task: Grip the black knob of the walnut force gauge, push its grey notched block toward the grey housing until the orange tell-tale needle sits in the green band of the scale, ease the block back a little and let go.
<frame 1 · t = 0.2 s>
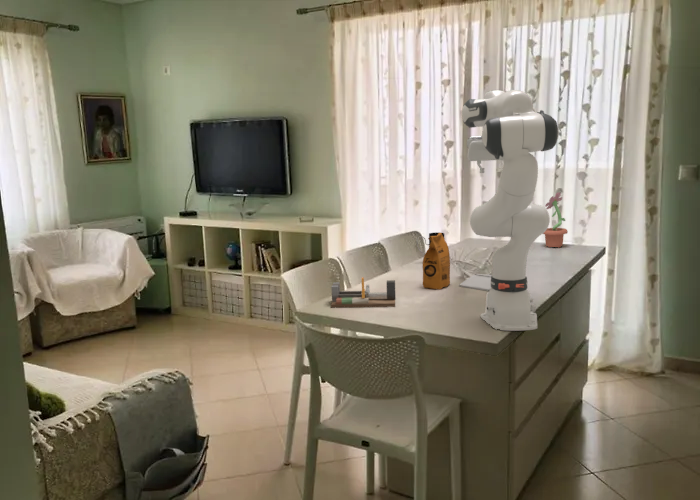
hand: (494, 172, 230), 48 cm above the table, tool pointing down, fingers open, 8 cm apart
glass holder: (431, 264, 301), on the table
gauge base: (364, 302, 235), on the table
coffee package: (436, 286, 256), on the table
decorative flower: (554, 247, 333), on the table
gadget: (488, 285, 257), on the table
needle: (363, 287, 228), point 7 cm above the table, slide at 0.0 cm
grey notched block: (377, 291, 232), point 5 cm above the table, slide at 0.0 cm
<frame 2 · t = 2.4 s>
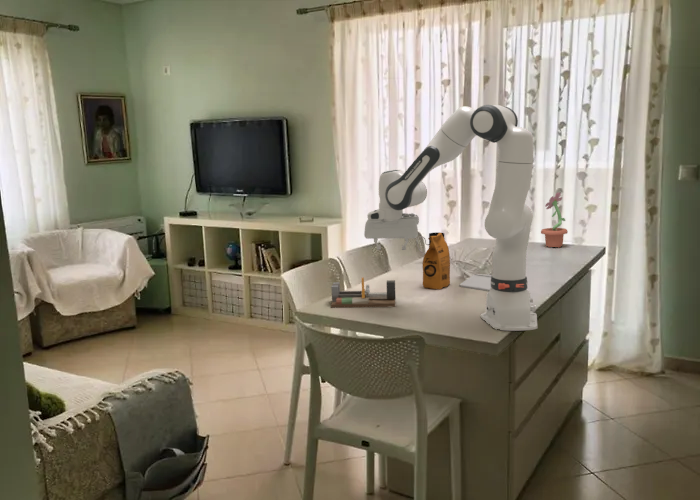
hand: (391, 249, 230), 20 cm above the table, tool pointing down, fingers open, 8 cm apart
nothing on the table moved.
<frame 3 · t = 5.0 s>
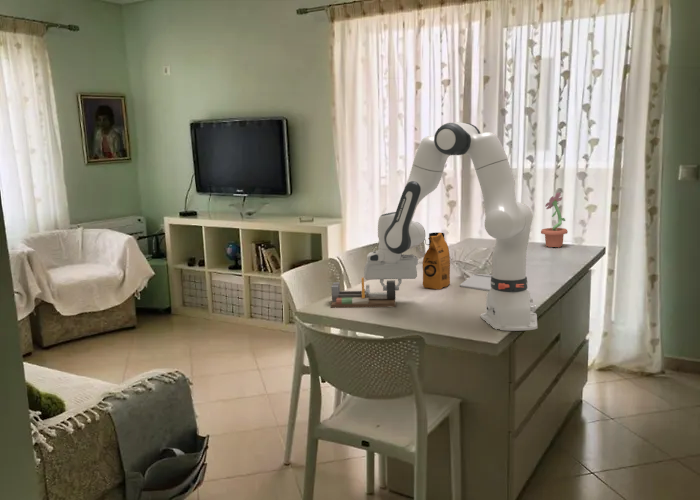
hand: (391, 290, 233), 5 cm above the table, tool pointing down, fingers closed on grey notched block, 3 cm apart
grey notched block: (378, 291, 232), point 5 cm above the table, slide at 0.0 cm, touching gripper
everything else where it was.
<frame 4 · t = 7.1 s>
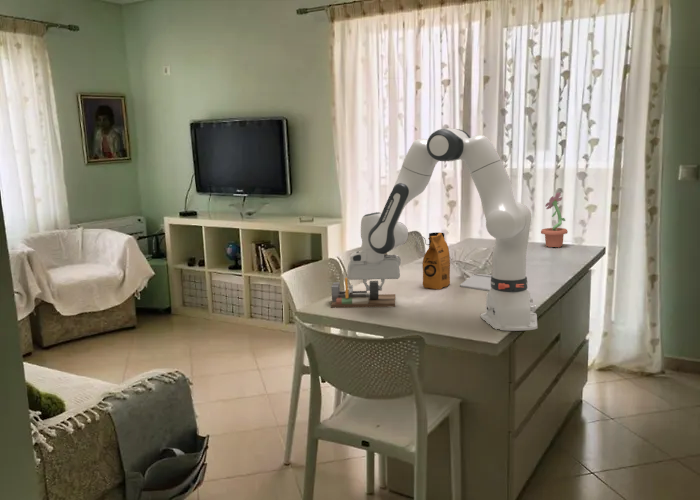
hand: (374, 290, 233), 5 cm above the table, tool pointing down, fingers closed on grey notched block, 3 cm apart
needle: (346, 287, 229), point 7 cm above the table, slide at 6.2 cm, touching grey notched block
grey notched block: (361, 291, 232), point 5 cm above the table, slide at 6.5 cm, touching gripper, needle
everything else where it was.
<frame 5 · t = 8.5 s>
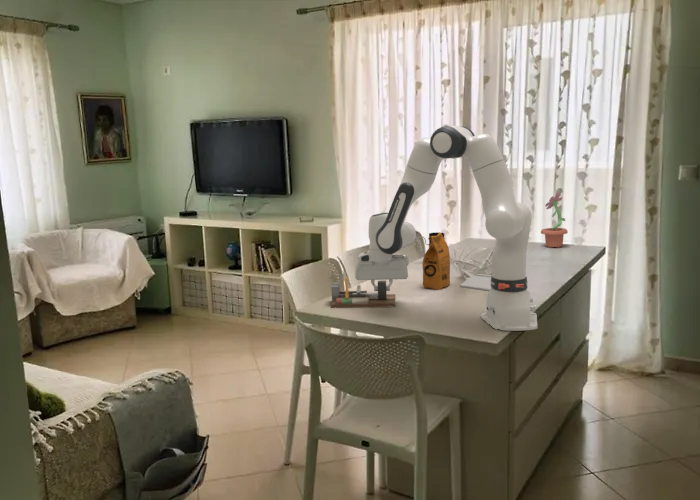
hand: (382, 290, 233), 4 cm above the table, tool pointing down, fingers closed on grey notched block, 3 cm apart
needle: (346, 287, 229), point 7 cm above the table, slide at 6.2 cm
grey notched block: (369, 291, 232), point 5 cm above the table, slide at 3.4 cm, touching gripper
everything else where it was.
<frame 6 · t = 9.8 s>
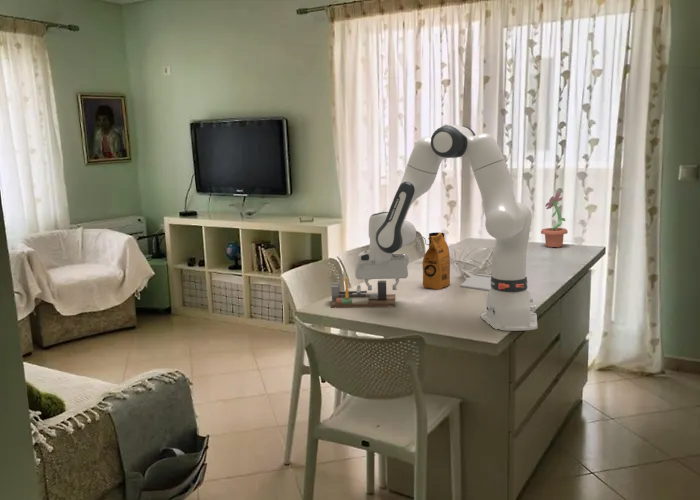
hand: (382, 289, 233), 5 cm above the table, tool pointing down, fingers open, 8 cm apart
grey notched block: (369, 291, 232), point 5 cm above the table, slide at 3.4 cm
everything else where it was.
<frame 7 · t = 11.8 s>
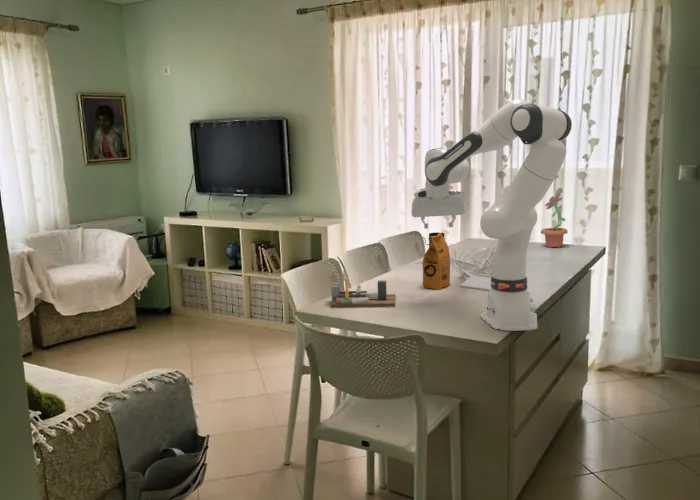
hand: (438, 227, 233), 27 cm above the table, tool pointing down, fingers open, 8 cm apart
nothing on the table moved.
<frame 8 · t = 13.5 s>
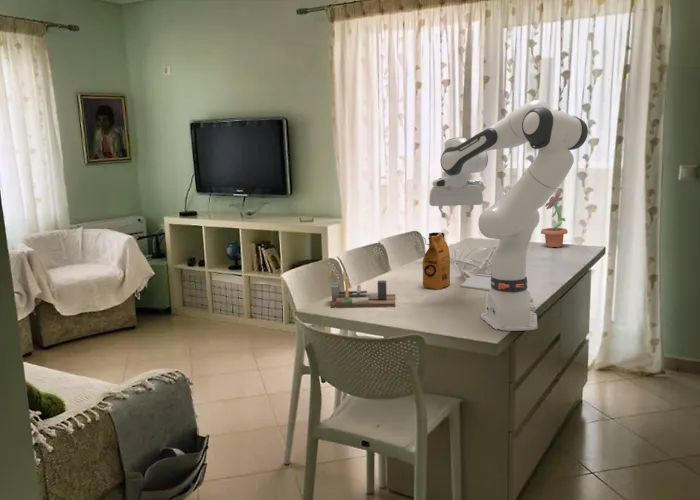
hand: (455, 217, 234), 31 cm above the table, tool pointing down, fingers open, 8 cm apart
nothing on the table moved.
at the end: needle slide at 6.2 cm; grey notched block slide at 3.4 cm; the gripper is holding nothing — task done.
